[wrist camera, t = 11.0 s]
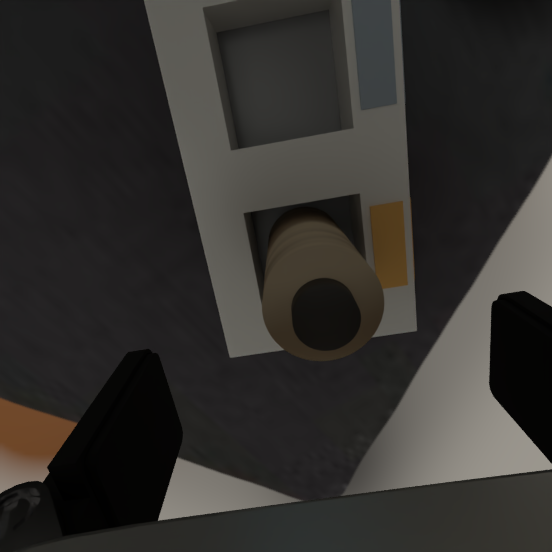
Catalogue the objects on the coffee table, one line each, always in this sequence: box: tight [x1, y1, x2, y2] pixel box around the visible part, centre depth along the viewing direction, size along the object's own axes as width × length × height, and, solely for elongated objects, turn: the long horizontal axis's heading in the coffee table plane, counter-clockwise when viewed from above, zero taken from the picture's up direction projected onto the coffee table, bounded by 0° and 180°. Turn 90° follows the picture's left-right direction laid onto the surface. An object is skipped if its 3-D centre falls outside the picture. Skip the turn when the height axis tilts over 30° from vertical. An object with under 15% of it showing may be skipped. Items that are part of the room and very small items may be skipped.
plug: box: [262, 207, 384, 361], centre depth 20 cm, size 5×5×12 cm
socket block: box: [144, 0, 417, 358], centre depth 22 cm, size 22×12×5 cm, turn 10°
